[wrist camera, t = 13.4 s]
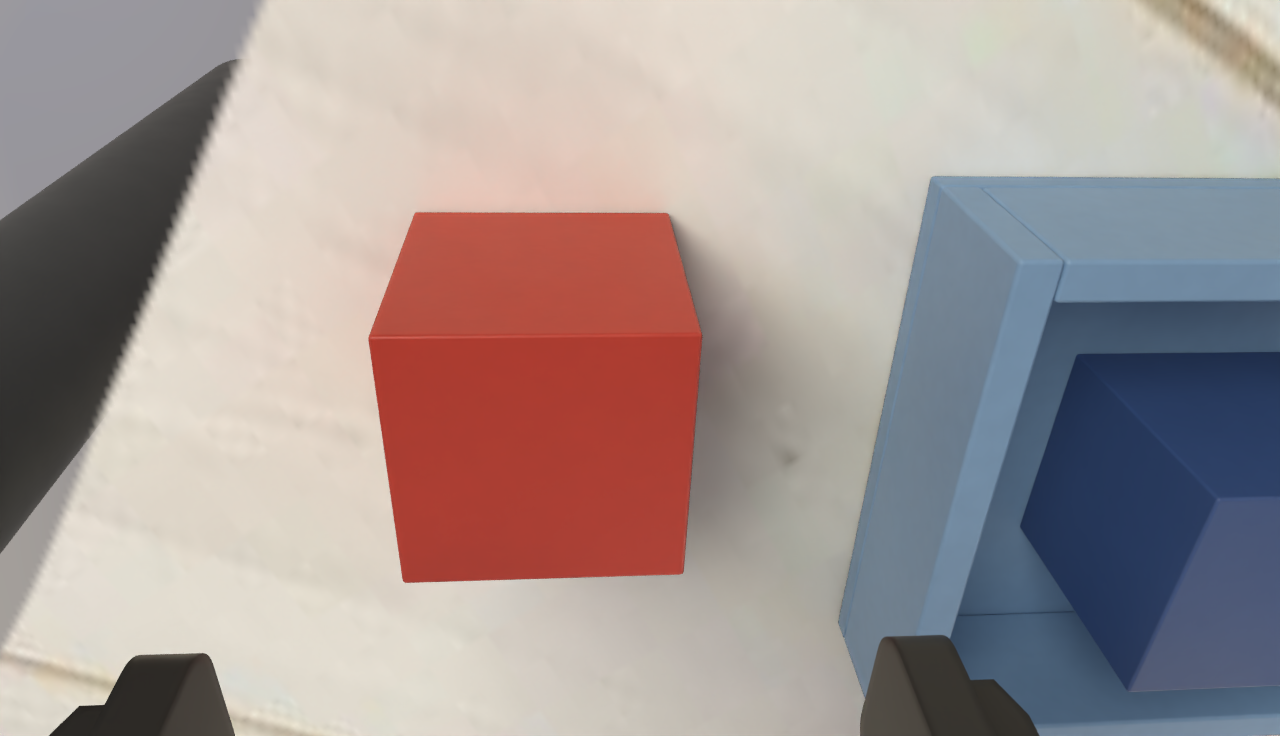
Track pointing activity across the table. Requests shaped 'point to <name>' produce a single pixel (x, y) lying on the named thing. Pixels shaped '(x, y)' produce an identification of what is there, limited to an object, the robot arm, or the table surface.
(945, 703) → the robot arm
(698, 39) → the table surface
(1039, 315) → the blue bin
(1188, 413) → the blue block
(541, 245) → the red block
